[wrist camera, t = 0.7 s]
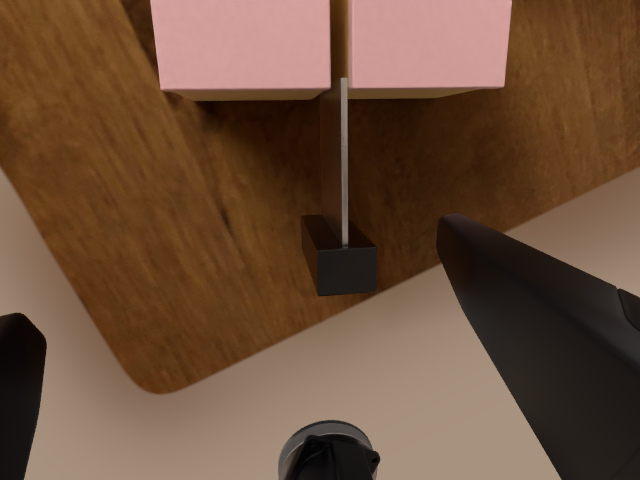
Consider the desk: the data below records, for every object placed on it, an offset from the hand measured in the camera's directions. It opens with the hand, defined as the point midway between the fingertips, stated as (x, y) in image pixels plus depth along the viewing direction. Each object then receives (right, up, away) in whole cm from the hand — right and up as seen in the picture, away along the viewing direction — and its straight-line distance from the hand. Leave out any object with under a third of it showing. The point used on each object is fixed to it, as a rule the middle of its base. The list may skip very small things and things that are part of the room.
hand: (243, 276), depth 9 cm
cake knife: (+2, +5, +18) cm, 19 cm away
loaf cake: (+2, +13, +16) cm, 21 cm away
